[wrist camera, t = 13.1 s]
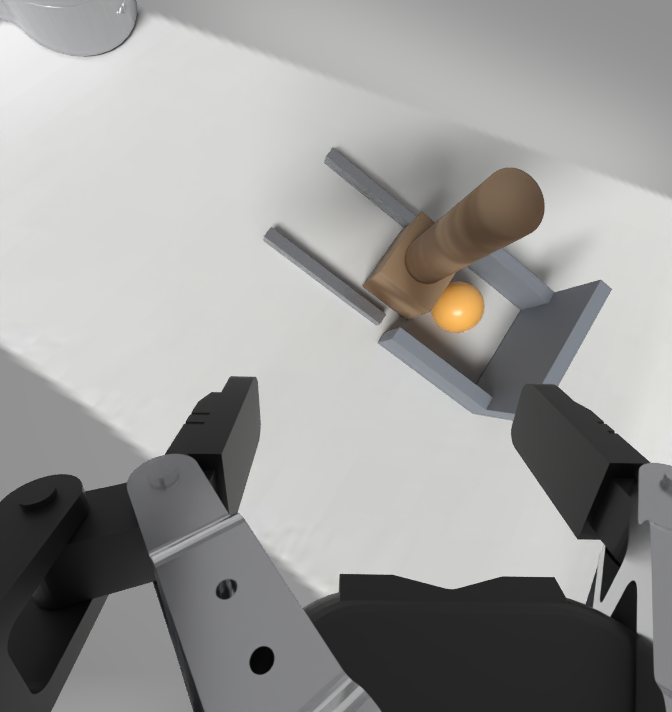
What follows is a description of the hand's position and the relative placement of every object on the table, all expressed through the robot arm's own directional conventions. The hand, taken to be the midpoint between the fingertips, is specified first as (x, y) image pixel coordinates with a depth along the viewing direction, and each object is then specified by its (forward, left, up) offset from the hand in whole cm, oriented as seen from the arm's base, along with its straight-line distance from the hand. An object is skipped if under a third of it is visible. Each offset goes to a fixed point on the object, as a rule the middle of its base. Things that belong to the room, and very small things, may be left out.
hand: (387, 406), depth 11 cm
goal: (+14, +7, -20) cm, 26 cm away
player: (+8, +10, -20) cm, 24 cm away
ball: (+12, +8, -18) cm, 23 cm away
